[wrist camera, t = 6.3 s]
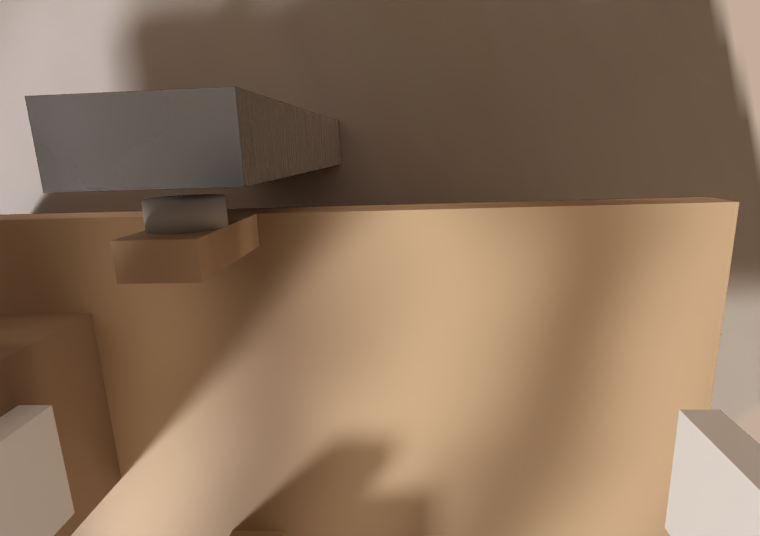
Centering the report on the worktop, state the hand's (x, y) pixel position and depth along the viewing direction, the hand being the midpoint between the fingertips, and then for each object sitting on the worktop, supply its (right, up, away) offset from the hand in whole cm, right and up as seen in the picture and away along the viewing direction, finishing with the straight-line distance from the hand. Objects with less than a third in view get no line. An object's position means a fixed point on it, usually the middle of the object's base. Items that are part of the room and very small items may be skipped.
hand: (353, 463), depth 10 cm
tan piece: (-3, +2, +8) cm, 9 cm away
